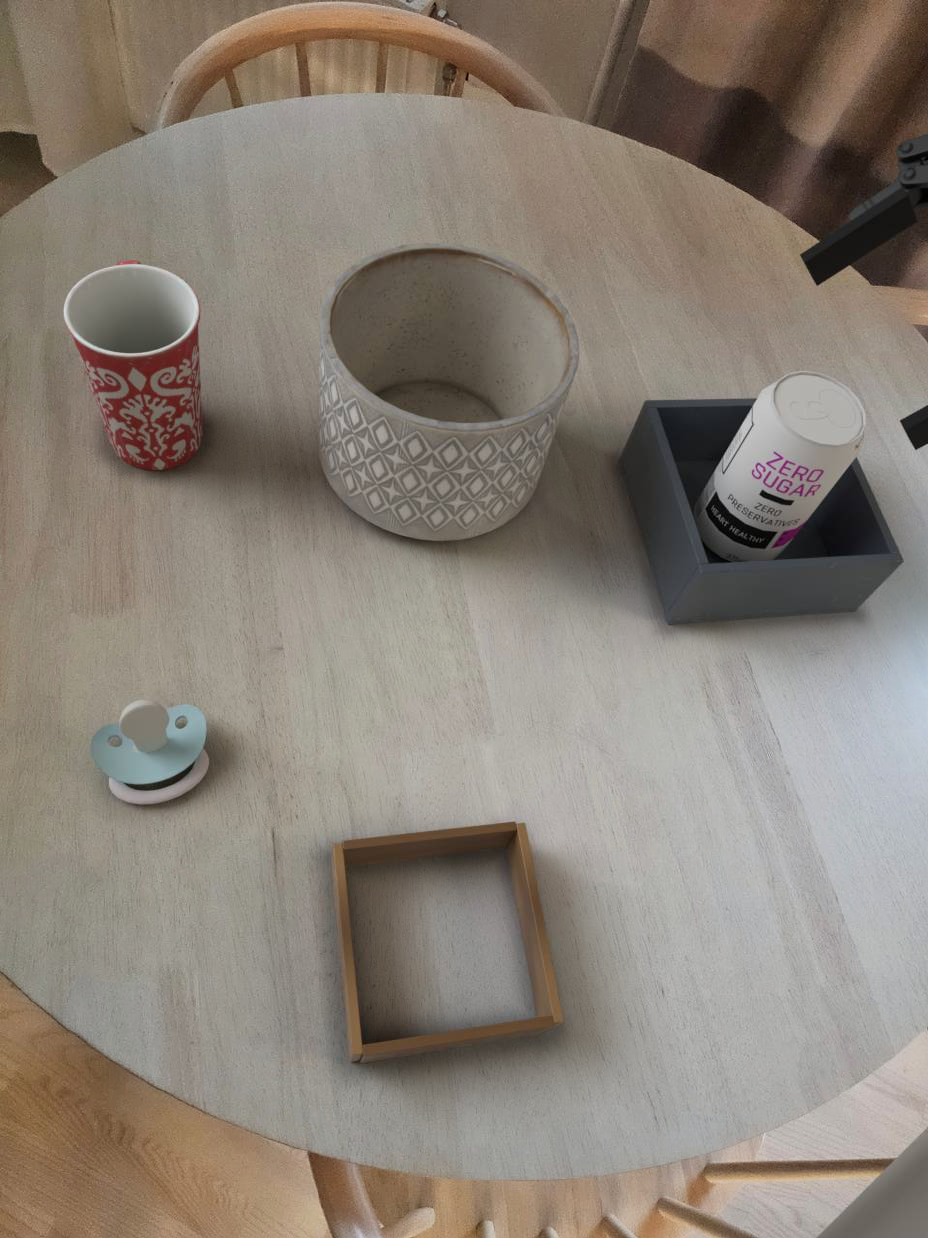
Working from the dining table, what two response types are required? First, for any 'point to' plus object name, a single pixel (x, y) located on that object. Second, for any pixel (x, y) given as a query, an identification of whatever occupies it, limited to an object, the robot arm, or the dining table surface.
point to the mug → (141, 360)
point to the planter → (440, 388)
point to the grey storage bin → (723, 590)
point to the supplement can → (780, 466)
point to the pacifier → (152, 750)
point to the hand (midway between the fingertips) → (854, 348)
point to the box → (529, 918)
